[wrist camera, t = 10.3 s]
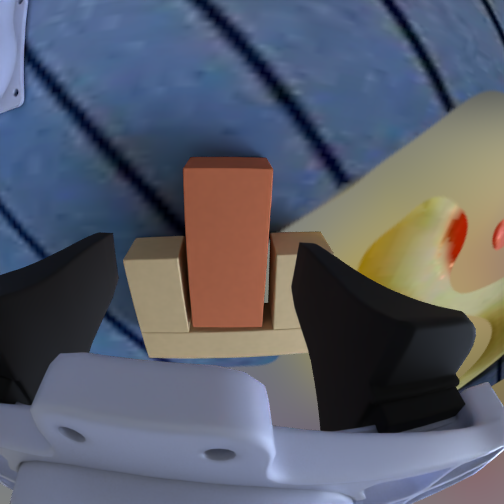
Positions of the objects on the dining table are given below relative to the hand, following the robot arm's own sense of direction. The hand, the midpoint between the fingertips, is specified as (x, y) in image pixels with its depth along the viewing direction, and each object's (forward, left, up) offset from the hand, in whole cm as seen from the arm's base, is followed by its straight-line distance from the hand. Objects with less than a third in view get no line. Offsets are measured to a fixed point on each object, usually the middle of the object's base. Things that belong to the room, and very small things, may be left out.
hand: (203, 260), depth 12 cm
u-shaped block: (+6, +1, -8) cm, 10 cm away
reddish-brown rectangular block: (+3, +1, -8) cm, 8 cm away
